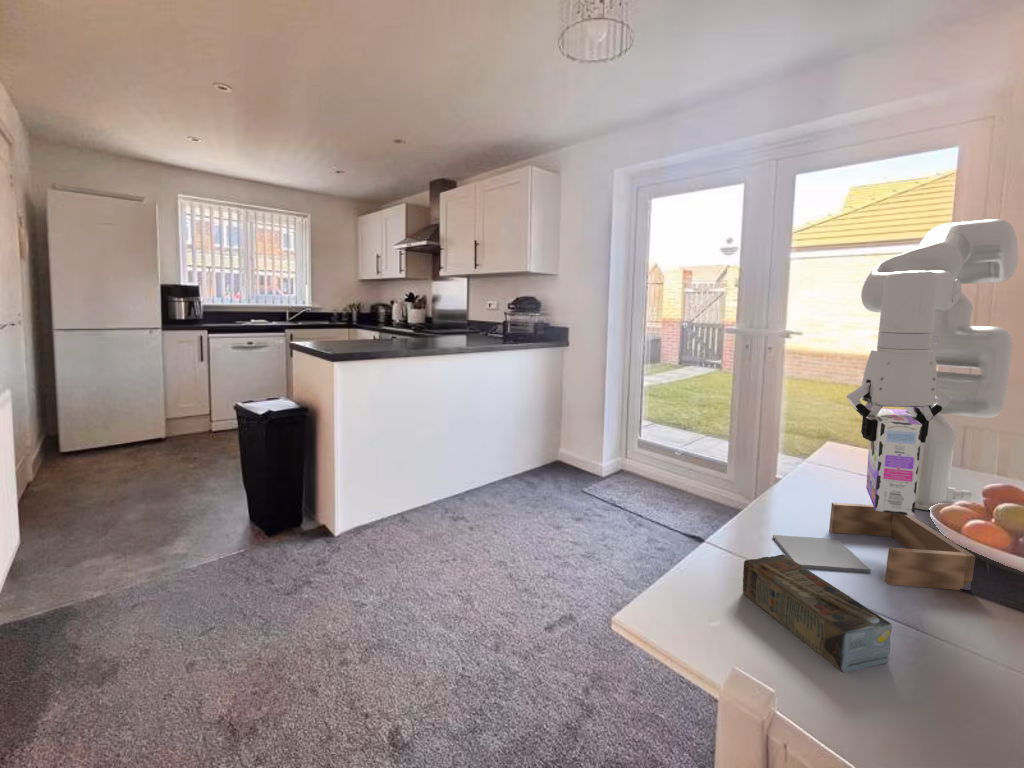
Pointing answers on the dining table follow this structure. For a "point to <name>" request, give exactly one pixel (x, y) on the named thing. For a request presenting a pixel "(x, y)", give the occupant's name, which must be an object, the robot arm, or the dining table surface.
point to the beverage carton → (818, 613)
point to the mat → (820, 553)
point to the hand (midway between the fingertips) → (893, 439)
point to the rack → (908, 547)
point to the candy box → (894, 462)
